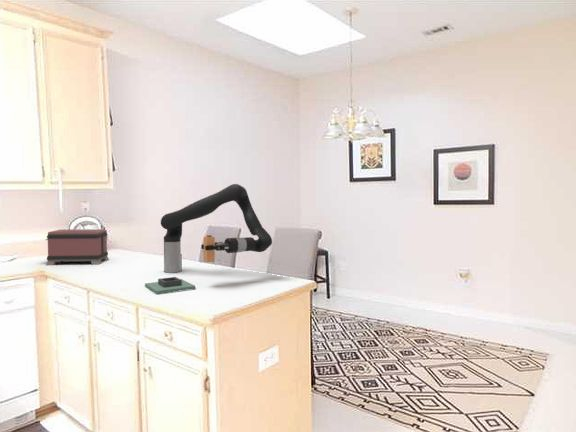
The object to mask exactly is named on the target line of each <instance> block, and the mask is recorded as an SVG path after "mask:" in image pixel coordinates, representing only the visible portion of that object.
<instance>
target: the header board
mask: <svg viewBox="0 0 576 432" xmlns="http://www.w3.org/2000/svg"><path fill="white" fill-rule="evenodd" d="M144 287H145V288H146V289H148V290H149V291H151V292H153V293H154V294H155V295H163V294H162V293H164V294H169V293H168V292H171V293H174V292H173V291H178V292H180V291H179V290H185V291H187V290H186V289H192V290H196V285H194V284H192V283H190V282H189V281H187V280H184V279H183V278H178V277H176V276H172V277H170V276H169V277H163V278H158V279H157V281H155V282H146V283H144Z"/></svg>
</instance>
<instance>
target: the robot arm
mask: <svg viewBox="0 0 576 432" xmlns="http://www.w3.org/2000/svg"><path fill="white" fill-rule="evenodd" d="M229 202H234V203H236V204H237V205H238V207H239V208H240V210H241V212H242V215H243V219H244V222H245V224H246V226H247V229H248V231H249V232H250V234H251V235H252V236H257V239H255V238H253V237H227V238H225V240H224V241H216V242H215V245H208V246H205V250H215V252H217V251H218V252H219V251H221V252H222V251H225V252H226V254H235V253H242V252H257V253H263V252H265V251H266V250H267V249H268V248H270V247H271V246H272V244H273V239H272V236H271V235H270V234H269V233H268V231H267V230H266V229H265V228H264V227H263V225H262V223H261V222H260V220H259V218H258V216H257V214H256V212H255V211H254V208H253V205H252V203H251V201H250V198H249V195H248V191H247V189H246V188H245V187H244V186H242V185H241V184H238V183H234V184H233V183H232V184H230V185H228V186H227V187H225V188H223V189H222V190H219V191H218V192H215V193H213V194H210V195H208V196H205V197H204V198H201V199H198V200H197V201H194V202H192V203H190V204H188V205H186V206H185V207H183V208H181V209H178V210H176V211H173V212H170V213H165V214H164V215H163V216H162V217H161V219H160V226H161V227H162V228H163V229H164V230H166V233H165V235H164V236H163V272H164V273H180V272H181V271H183V263H182V262H183V259H182V258H183V255H182V251H181V250H182V248H181V246H182V245H181V242H182V241H181V239H182V234H183V223H185V222H186V223H187V222H189V221H192V220H196V219H201V218H203V217H206V216H208V215H210V214H212V213H214V212H215V211H216V210H217V209H219V207H221V206H223V205H225V204H227V203H229ZM200 249H201V250H204V243H203V244H201V246H200Z"/></svg>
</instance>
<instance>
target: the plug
mask: <svg viewBox="0 0 576 432" xmlns="http://www.w3.org/2000/svg"><path fill="white" fill-rule="evenodd" d="M215 240H216V238H215V236H212V235H211V234H208V235H206V236H203V244H204V249H203V255H202V256H203V260H202V261H203V262H205V263H214V262H215V260H216V259H215V255H216V254H215V252H216V250H205V246H208V245H215Z"/></svg>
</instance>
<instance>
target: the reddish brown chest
mask: <svg viewBox="0 0 576 432" xmlns="http://www.w3.org/2000/svg"><path fill="white" fill-rule="evenodd" d="M107 236H108V232H107V230H106V229H105V228H104V229H103V228H101V229H98V228H97V229H94V228H93V229H89V228H88V229H87V228H86V229H80V228H78V229H56V230H51V231H48V232H47V236H46V239H45V241H47V257H46V260H47V262H46V263H45V266H56V265H57V264H58V263H59V262H61V261H63V262H90V263H91V265H92V266H96V265H97V266H99V265H101V264H102V262H107V261H109V260H110V259H109V256H108V255H109V253H108V252H109V251H108V242H107V239H108V238H107Z"/></svg>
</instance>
